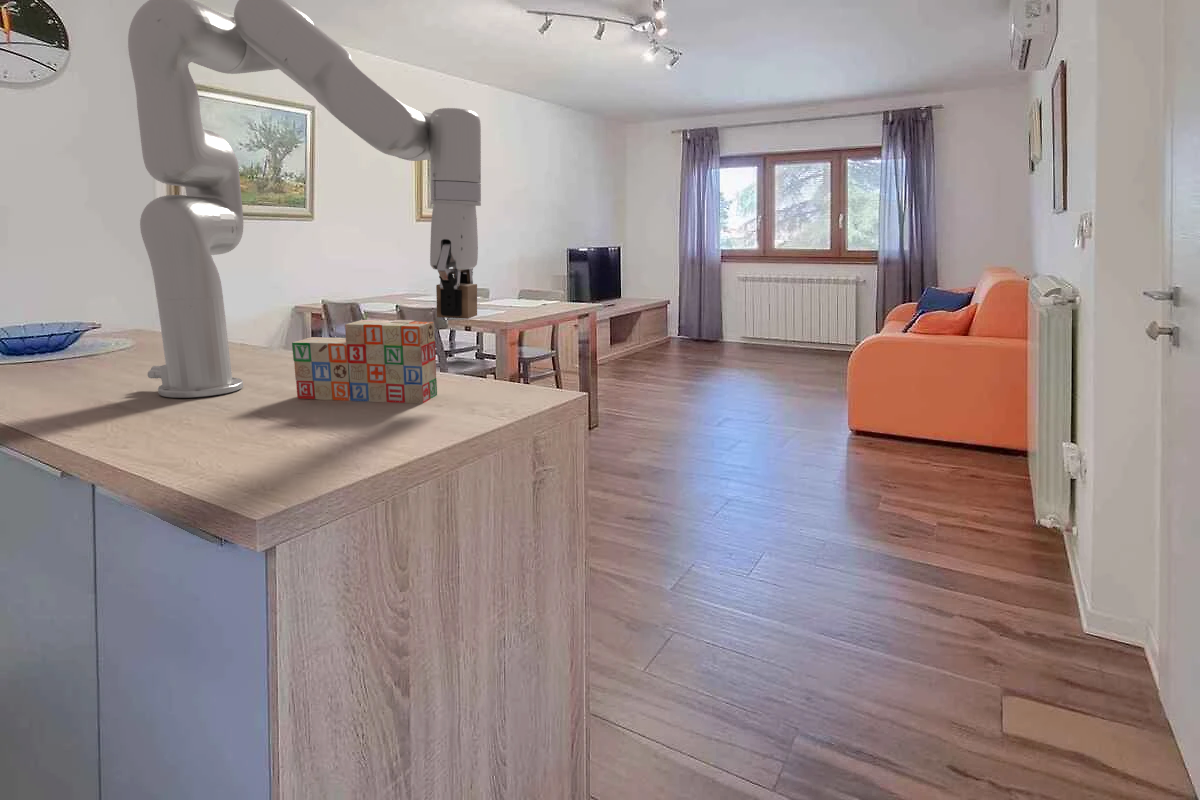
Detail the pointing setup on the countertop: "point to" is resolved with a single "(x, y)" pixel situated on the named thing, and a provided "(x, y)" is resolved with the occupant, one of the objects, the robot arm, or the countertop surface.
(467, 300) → the walnut cube
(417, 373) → the stack of blocks
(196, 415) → the countertop surface
